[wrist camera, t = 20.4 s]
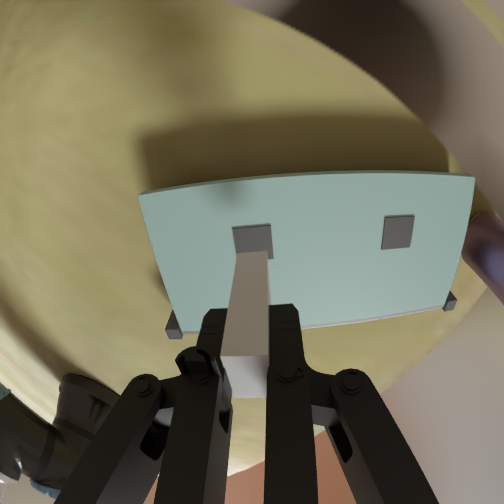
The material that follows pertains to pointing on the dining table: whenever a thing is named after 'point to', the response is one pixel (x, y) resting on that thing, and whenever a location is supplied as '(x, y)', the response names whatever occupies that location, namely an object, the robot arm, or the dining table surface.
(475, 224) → the beverage can
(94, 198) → the dining table surface
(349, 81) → the dining table surface
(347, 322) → the cover
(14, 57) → the dining table surface
